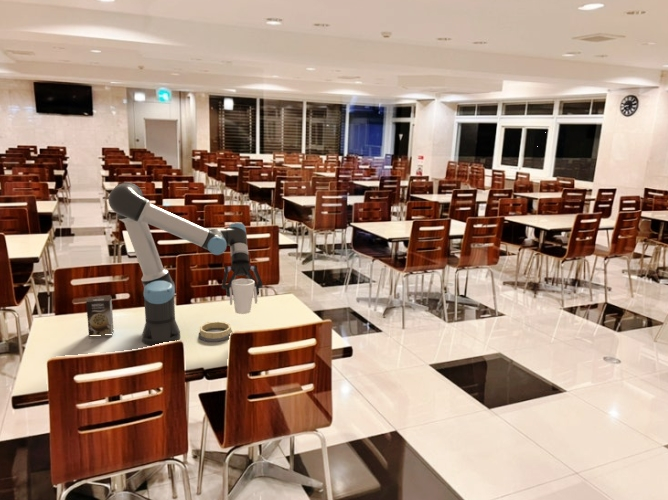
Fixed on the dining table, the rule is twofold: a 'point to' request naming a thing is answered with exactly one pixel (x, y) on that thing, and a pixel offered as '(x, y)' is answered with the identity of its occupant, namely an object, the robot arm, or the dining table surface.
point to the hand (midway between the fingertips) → (243, 302)
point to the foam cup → (243, 294)
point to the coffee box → (100, 316)
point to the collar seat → (215, 331)
